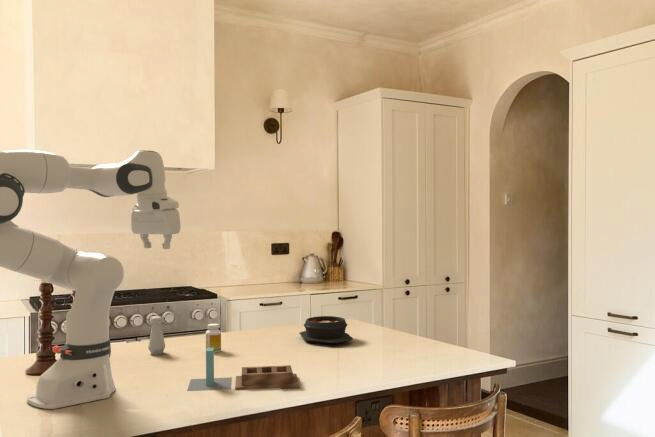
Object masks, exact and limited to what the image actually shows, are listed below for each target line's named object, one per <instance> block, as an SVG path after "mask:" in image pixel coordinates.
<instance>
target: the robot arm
mask: <svg viewBox="0 0 655 437" xmlns="http://www.w3.org/2000/svg"><path fill="white" fill-rule="evenodd" d="M164 164H165V163H164V160H163V157H162V155H161V154H160V153H159V152H157V151H154V150H146V149H145V150H144V149H143V150H137V151H135V153H134V154H133V155H132V156H130V157H129V158H127V159H126V160H123V161H122V162H117V163H102V164H99V165H95V166H93V167H82V166H81V167H80V166H71V165H70V163H69V161H68V159H66V158H65V156H63V155H60V154H57V153H53V152H50V151H49V152H48V151H42V150H30V149H16V150H3V151H0V267H1V268H4V269H6V270H10V271H12V272H16V273H19V274H22V275H25V276H29V277H32V278H34V279H39V280H41V281H44V282H47V283H48V284H51V285H54V286H57V287H59V288H63V289H66V290H69V291H73V292H75V293H74V299H73V302H72V306H71V308H70V309H69V310H68V311H67V313H66V314H65V332H66V334H65V337H66V340H65V343H64V345H63V346H61V345H60V346H59V345H56V344H55V345H54V346H53V347H52V352H53V353H54V354H59V355H60V356H59V358H58V359H57V360H56V361H55V362H54V363H53V364H52V365H51V366H49V367H48V368H47V369H46V371H44V372H43V373H42V374H41V375H40V376H39V377H38V380H37V385H36V390H35V391H36V392H35V393H33V394H30V395H28V396H27V400H26V401H27V402H26V403H28V404H29V405H31V406H33V407H35V408H40V409H46V410H54V409H59V408H65V407H70V406H74V405H78V404H79V405H80V404H84V403H89V402H93V401H99V400H100V401H101V400H104V399H109V398H110V397H111V394H113V393H114V392H115V391H116V386H115V382H114V377H113V374H112V369H111V368H112V367H111V354H112V353H111V352H112V350H111V348H112V346H111V339H110V337H109V334H110V328H109V326H110V321H109V320H110V308H111V304H112V301H113V297H114V294H115V291H116V290H117V289H118V288H119V287H120V286H121V284H122V283H123V280H124V277H125V276H124V275H125V270H124V267H123V264H122V263H121V262H120V261H119V260H118V259H117V258H116V257H113V256H111V255H110V254H106V253H103V252H88V251H82V250H78V249H74V248H72V247H70V246H68V245H66V244H64V243H62V242H60V241H59V239H56V238H53V237H50V236H48V235H45V234H42V233H39V232H36V231H34V230H31V229H28V228H26V227H22V226H19V225H18V224H16V223H14V222H13V221H12V220H13V219H15V218H16V217H17V216H18V215H19V213H20V212H21V210H22V207H23V201H24V196H25V193H26V194H30V193H31V194H55V193H61V192H63V191H65V190H66V189H75V190H76V189H77V190H88V191H90V192H93V193H94V194H96V195H98V196H99V197H102V198H103V197H104V198H111V197H117V196H118V197H121V196H132V195H135V194H136V198H137V200H136V201H137V203H136V204H135V205H134V206H133V208H132V212H131V215H130V218H131V219H130V221H131V222H130V225H131V226H130V227H131V231H132V233H133V234H134V235H135V234H136V235H139V237H140V239H141V241H142V243H143V249H151V248H152V242H151V241H150V239H149V235H163V238H164V241H163V243H162V249H163V250H169V249H171V241H172V239H173V235H177V234H179V233H180V232H181V218H180V213H179V210H178V208H179V207H180V206H179V205H180V204H179V202H178V200H176V199H173V198H171V197H169V196H168V192H167V188H166V184H165V183H166V173H165V165H164Z"/></svg>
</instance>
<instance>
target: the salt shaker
mask: <svg viewBox="0 0 655 437" xmlns="http://www.w3.org/2000/svg"><path fill="white" fill-rule="evenodd" d="M163 318H164V317H163V316H158V315H156V316H151V318H150V320H149V322H150V324H151V328H150V329H151V330H150V335H149V336H150V337H149V341H148V350H149V352H150V354H151V355H155V356H159V355H163V353H164V351H165V349H166V342H165V337H164V331H163V325H162V324H163V322H164V319H163Z"/></svg>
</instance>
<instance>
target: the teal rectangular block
mask: <svg viewBox="0 0 655 437" xmlns="http://www.w3.org/2000/svg"><path fill="white" fill-rule="evenodd" d="M214 378H215V353H214V348H207V349H206V348H205V379H206V386H213V385H214Z"/></svg>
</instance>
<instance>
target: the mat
mask: <svg viewBox="0 0 655 437" xmlns="http://www.w3.org/2000/svg"><path fill="white" fill-rule="evenodd" d="M232 379H233V377H231V376H230V377H214V385H213V386H206V378H191V379H190V380H189V383H188V387H187V390H186V391H187V392H198V391H216V390H217V391H219V390H231V389H232Z"/></svg>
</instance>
